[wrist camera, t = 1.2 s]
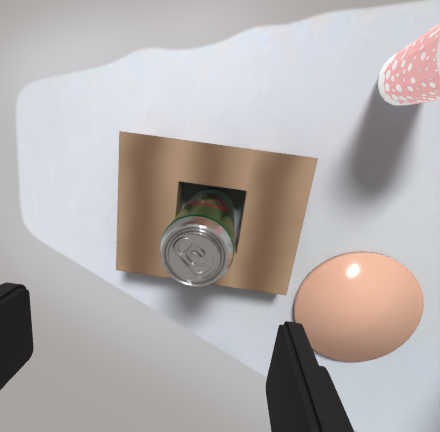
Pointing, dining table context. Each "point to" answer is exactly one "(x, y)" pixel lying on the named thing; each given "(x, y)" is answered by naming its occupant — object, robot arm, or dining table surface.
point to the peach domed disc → (358, 306)
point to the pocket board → (221, 177)
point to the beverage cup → (413, 72)
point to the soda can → (200, 240)
